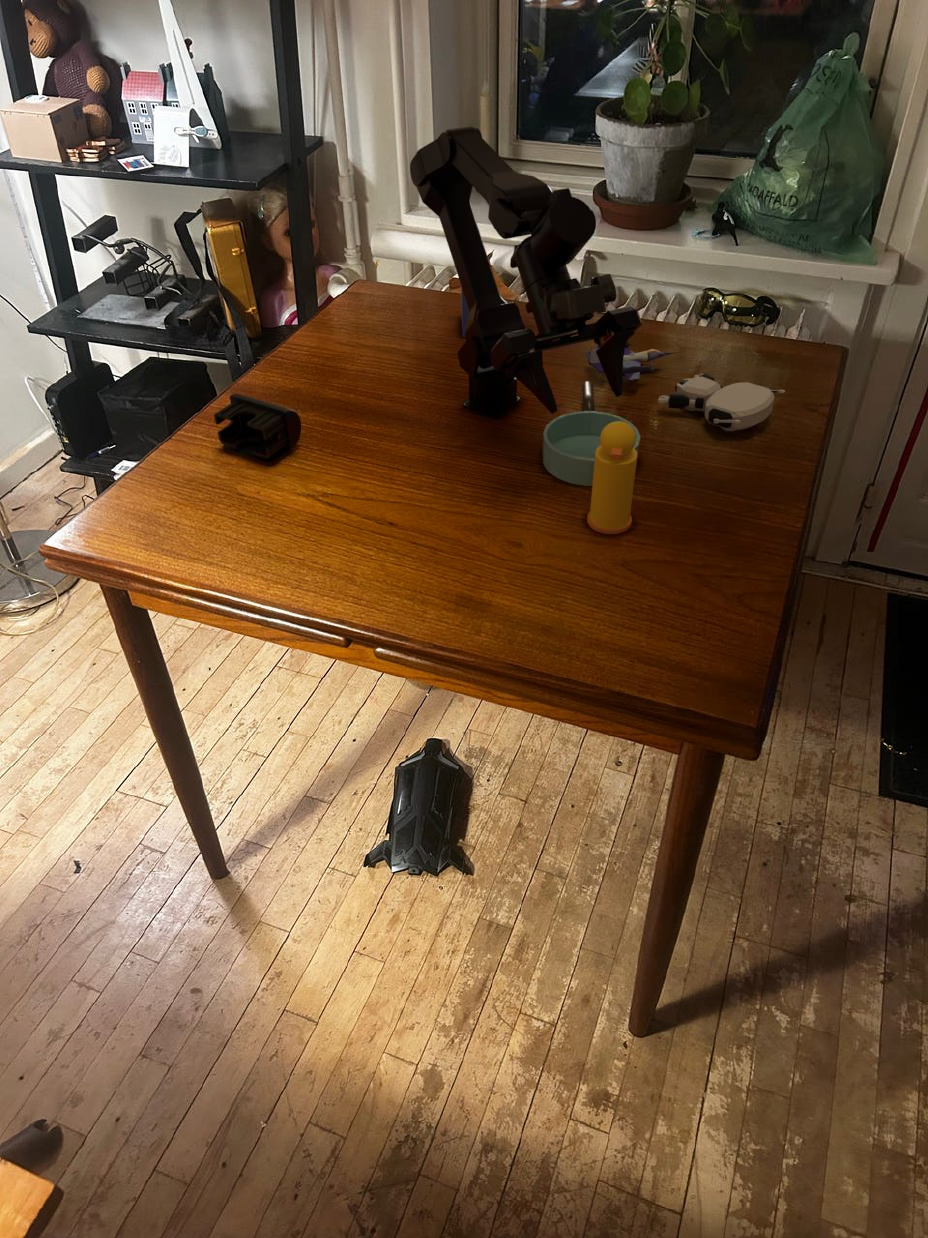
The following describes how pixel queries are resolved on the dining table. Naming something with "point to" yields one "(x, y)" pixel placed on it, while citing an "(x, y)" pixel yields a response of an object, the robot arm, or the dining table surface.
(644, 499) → the dining table surface
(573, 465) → the pan
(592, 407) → the pan handle
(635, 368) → the toy airplane
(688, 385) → the robot toy
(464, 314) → the walkman
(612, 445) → the duck toy
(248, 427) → the end cap
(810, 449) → the dining table surface
